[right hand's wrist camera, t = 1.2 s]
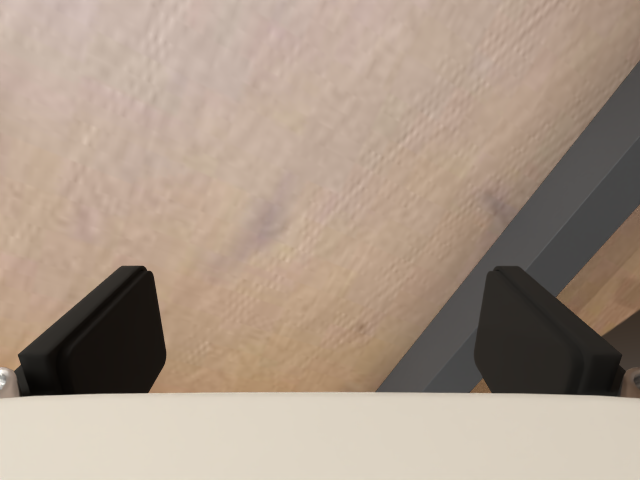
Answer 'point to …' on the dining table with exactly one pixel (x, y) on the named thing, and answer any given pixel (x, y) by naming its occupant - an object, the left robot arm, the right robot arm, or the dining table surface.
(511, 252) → the post
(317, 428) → the right robot arm
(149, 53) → the dining table surface
